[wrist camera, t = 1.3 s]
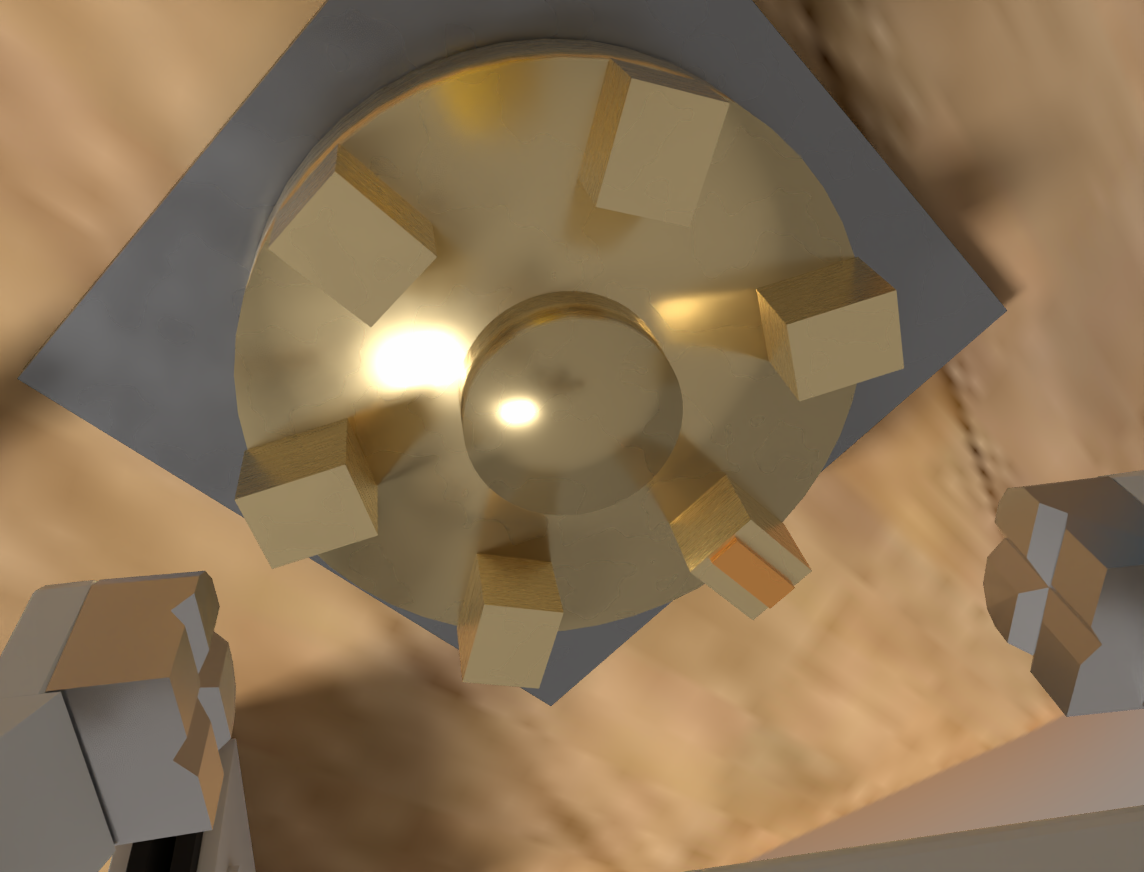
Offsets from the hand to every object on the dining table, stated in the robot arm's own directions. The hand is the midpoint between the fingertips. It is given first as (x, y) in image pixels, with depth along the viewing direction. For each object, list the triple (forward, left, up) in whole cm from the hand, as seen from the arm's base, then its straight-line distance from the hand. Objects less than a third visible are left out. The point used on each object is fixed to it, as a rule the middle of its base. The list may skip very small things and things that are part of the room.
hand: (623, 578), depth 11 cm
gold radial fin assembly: (+6, -3, -22) cm, 23 cm away
